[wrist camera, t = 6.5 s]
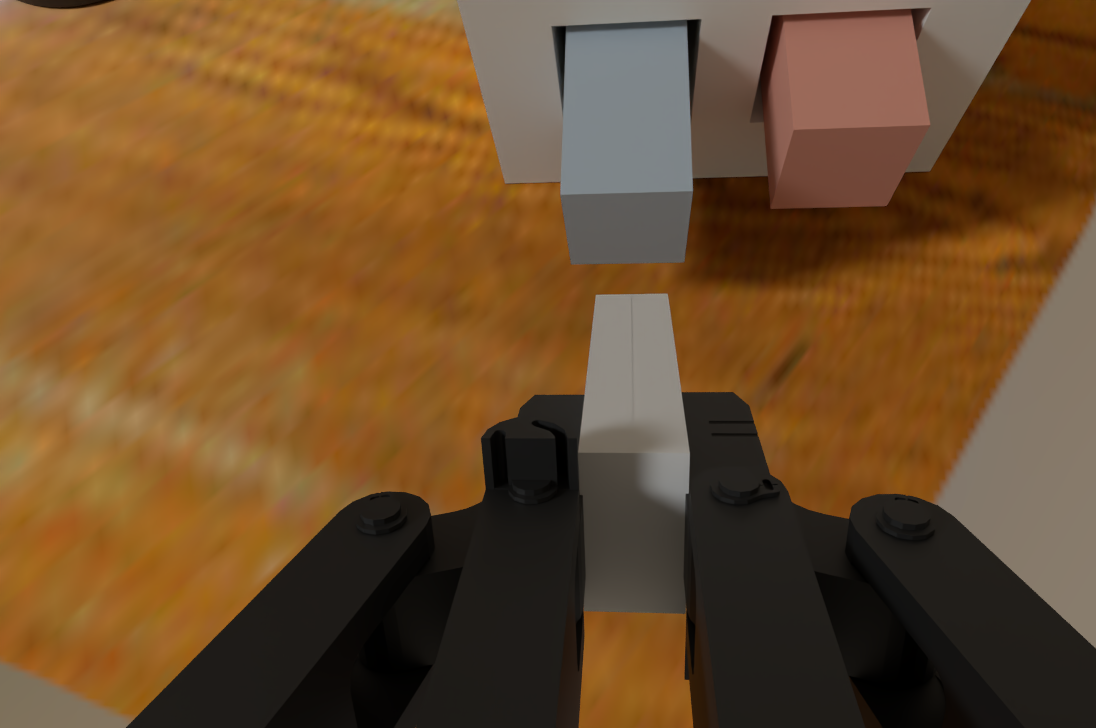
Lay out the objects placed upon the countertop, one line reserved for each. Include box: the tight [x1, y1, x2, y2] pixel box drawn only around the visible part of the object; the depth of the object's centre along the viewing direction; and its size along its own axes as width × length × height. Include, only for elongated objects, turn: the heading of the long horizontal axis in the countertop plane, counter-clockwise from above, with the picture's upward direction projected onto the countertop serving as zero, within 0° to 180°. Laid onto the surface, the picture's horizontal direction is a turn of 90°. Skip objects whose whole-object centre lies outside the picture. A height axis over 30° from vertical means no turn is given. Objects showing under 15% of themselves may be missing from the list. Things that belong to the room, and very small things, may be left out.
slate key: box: [560, 20, 693, 264], centre depth 32 cm, size 16×4×5 cm, turn 178°
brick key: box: [760, 9, 930, 209], centre depth 32 cm, size 16×4×5 cm, turn 178°
